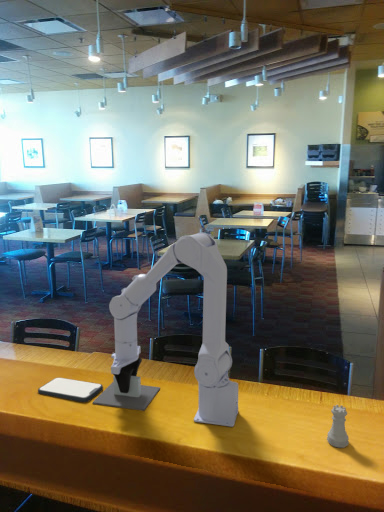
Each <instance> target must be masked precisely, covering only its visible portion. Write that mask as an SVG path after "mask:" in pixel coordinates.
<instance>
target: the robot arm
mask: <svg viewBox="0 0 384 512" xmlns="http://www.w3.org/2000/svg"><path fill="white" fill-rule="evenodd" d="M218 246H219V245H218V241H216V240H215V239H214V238H213V237H212V236H211V235H210V234H208V233H206V232H197V233H195V234H191V235H183V236H180V237H179V238H178V239H177V240H176V241H175V242H173V244H171V245H169V247H168V248H167V250H166V251H165V252H164V253H163V254H162V255H161V256H160V258H159V259H158V260H157V262H156V263H154V265H152V266H151V268H150V269H149V270H148V271H147V273H140V274H135V275H133V277H132V278H131V280H132V281H131V283H129V284H128V286H127V287H124V288H122V289H121V294H120V295H116V296H113V297H112V298H111V300H110V301H109V306H108V307H109V312H110V314H111V316H112V317H113V321H114V323H113V324H114V349H115V351H114V353H112V354H111V356H110V357H111V359H113V362H112V365H111V366H110V374H111V375H113V376H115V378H116V380H117V383H118V386H119V390H120V392H121V393H128V392H129V387H130V378H131V376H137V375H138V371H139V368H140V366H141V363H142V360H143V359H142V357H140V354H141V346H140V345H138V324H137V323H138V319H137V318H138V313H139V311H140V310H141V307H142V305H143V304H144V303H145V302H147V300H148V299H149V298H150V297H151V296H152V295H153V294H154V293H155V292H156V291H157V283H158V282H159V281H160V280H161V279H163V277H164V276H166V274H168V273H169V272H170V271H171V270H172V269H173V268H175V266H176V265H179V264H181V263H182V264H184V265H186V266H187V267H190V268H192V269H194V270H196V271H197V272H198V273H199V274H200V275H201V276H202V277H203V294H202V295H203V303H202V304H203V305H202V310H203V311H202V317H203V318H202V344H201V347H200V349H199V352H198V356H197V357H198V359H197V363H196V364H195V366H194V368H193V372H194V373H193V374H194V377H195V379H196V381H197V383H198V409H197V411H196V413H195V416H194V417H193V421H194V422H196V423H201V424H202V423H203V424H210V425H219V426H225V427H232V428H233V427H234V426H235V423H236V421H237V420H236V419H237V417H238V414H239V383H238V382H236V381H232V380H230V378H229V370H230V369H231V368H232V365H233V358H232V355H231V353H230V345H229V344H228V343H227V342H226V320H227V319H226V317H227V315H226V314H227V286H228V285H227V283H228V281H227V280H228V268H227V264H226V263H225V260H224V258H223V257H222V254H221V252H220V250H219V247H218Z"/></svg>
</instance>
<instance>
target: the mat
mask: <svg viewBox="0 0 384 512" xmlns="http://www.w3.org/2000/svg"><path fill="white" fill-rule="evenodd" d="M160 390H161V387H160V386H151V385H144V384H141V395H140V396H139V397H131V396H123V395H115V394H114V381H112V382H111V383H110V384H109V385H108V386H107V387H105V390H102V391H101V392H100V393H99V395H98V396H97V397H96V398H95V399H94V400H93V402H92V404H93V405H99V406H105V407H114V408H121V409H129V410H135V411H144V412H145V410H146V409H147V408H148V406H149V405H150V404H151V402H152V400H154V398H155V396H156V395H157V394H158V393H159V392H160Z"/></svg>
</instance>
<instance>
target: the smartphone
mask: <svg viewBox="0 0 384 512" xmlns="http://www.w3.org/2000/svg"><path fill="white" fill-rule="evenodd" d="M103 389H104V385H103V384H102V383H96V382H90V381H85V380H76V379H71V378H64V377H55V378H53V379H52V380H50V381H48V382H47V383H45V384H44V385H42V386H40V387H38V389H37V393H38V394H40V395H44V396H49V397H54V398H58V399H64V400H70V401H74V402H79V403H87V402H90V401H91V400H92V399H94V398H95V397H96V396H97V395H98V394H101V393H102V392H103V391H104V390H103Z"/></svg>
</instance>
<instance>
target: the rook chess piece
mask: <svg viewBox="0 0 384 512" xmlns="http://www.w3.org/2000/svg"><path fill="white" fill-rule="evenodd" d="M330 412H331V413H332V416H331V419H332V424H331V428H330V429H329V431H328V432H327V436H326V441H327V443H329V444H330V445H331V446H332V447H334V448H339V449H344V448H346V447H347V446H349V443H350V442H349V435H348V434H347V431H346V426H345V425H346V421H347V419H346V416H347V415H348V412H347V408H346V407H345V406H343V405H339V404H336V405H333V406H332V409H331V411H330Z"/></svg>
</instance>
